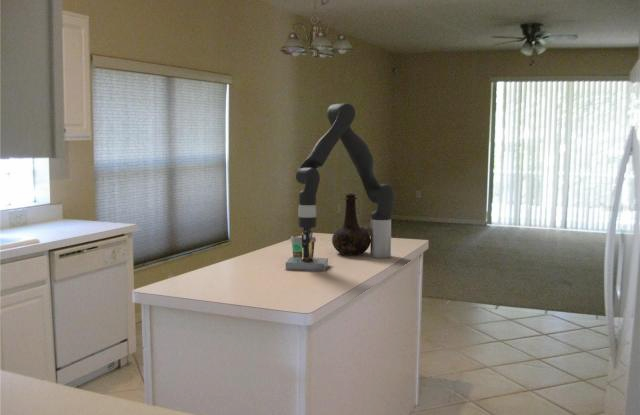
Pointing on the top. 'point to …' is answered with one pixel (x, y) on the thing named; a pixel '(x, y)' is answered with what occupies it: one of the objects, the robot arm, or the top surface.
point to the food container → (300, 246)
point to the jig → (307, 264)
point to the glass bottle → (351, 232)
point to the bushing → (309, 253)
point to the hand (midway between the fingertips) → (307, 256)
